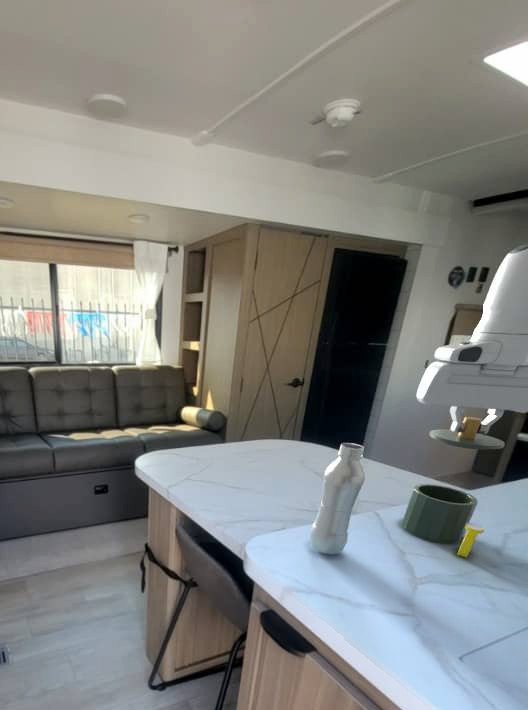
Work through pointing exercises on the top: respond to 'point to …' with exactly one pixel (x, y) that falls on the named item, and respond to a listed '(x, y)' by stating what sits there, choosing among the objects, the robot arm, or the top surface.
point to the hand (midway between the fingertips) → (467, 432)
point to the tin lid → (468, 436)
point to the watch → (469, 538)
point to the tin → (438, 513)
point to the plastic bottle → (338, 500)
